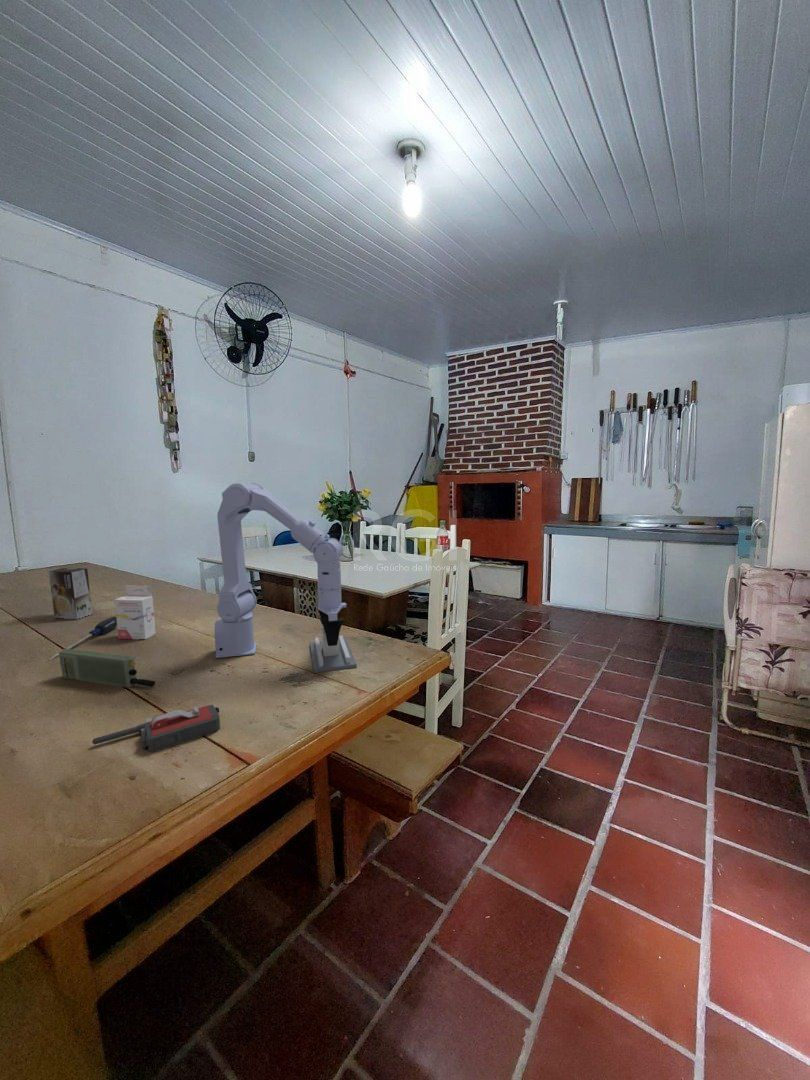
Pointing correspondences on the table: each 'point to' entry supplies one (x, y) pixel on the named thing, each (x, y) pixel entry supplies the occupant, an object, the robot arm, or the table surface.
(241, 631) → the robot arm
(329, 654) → the block
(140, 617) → the ink cartridge box
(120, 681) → the handheld radio
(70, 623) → the table surface
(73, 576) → the coffee box
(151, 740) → the walkie-talkie
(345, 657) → the rail dock
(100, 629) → the screwdriver
